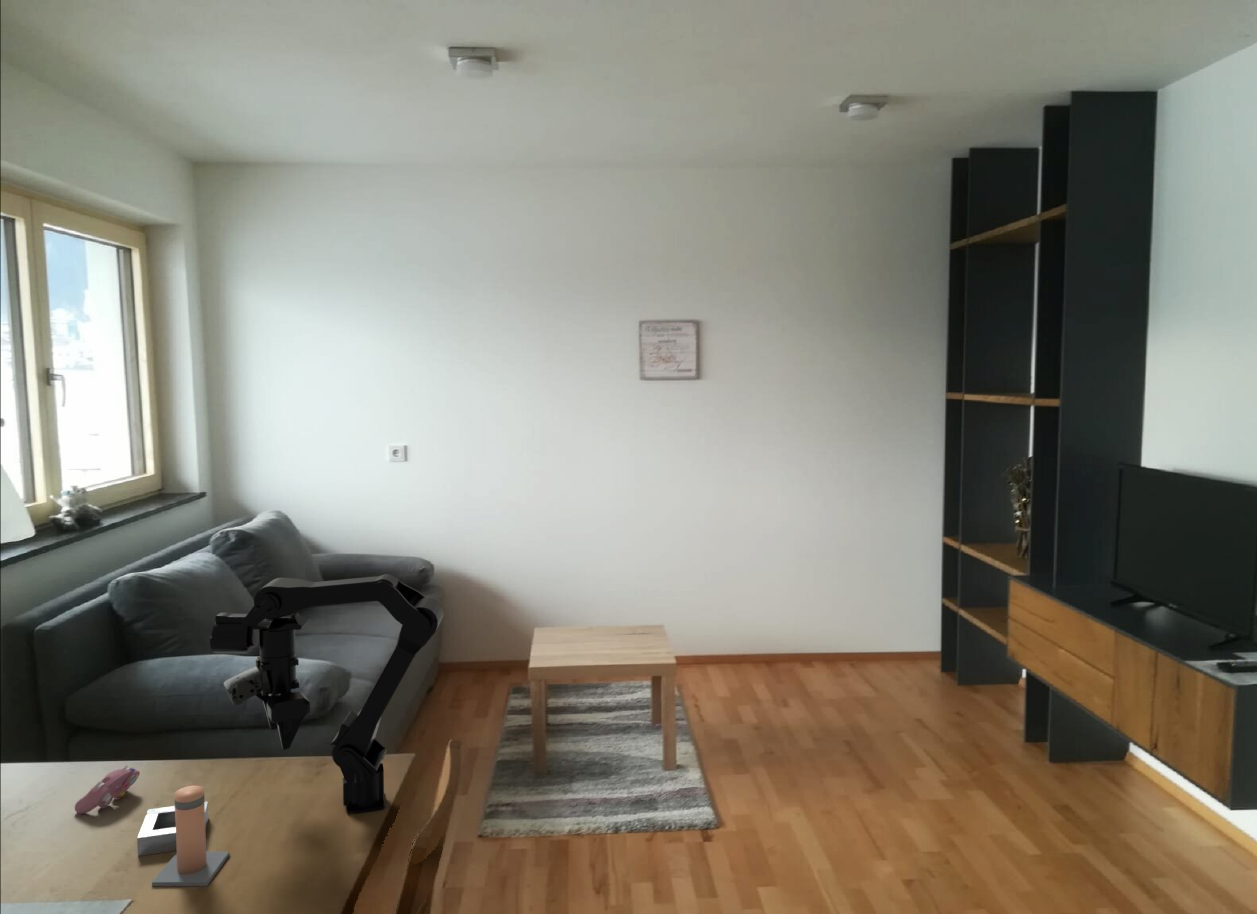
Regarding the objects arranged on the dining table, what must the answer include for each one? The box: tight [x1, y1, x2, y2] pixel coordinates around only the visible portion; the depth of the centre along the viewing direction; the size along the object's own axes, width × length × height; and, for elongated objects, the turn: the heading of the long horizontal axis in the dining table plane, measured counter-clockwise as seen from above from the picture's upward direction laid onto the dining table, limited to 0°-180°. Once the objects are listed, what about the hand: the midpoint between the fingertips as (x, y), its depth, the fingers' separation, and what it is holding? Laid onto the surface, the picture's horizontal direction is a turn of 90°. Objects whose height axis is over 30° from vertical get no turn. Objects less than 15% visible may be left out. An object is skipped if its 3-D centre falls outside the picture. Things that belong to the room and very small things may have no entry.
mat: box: [151, 851, 230, 887], centre depth 132 cm, size 8×8×1 cm
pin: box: [173, 785, 207, 874], centre depth 131 cm, size 4×4×12 cm
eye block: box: [136, 801, 209, 857], centre depth 141 cm, size 9×9×3 cm
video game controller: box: [74, 765, 141, 815], centre depth 151 cm, size 10×5×7 cm, turn 169°
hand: (279, 738), depth 151 cm, fingers open, 9 cm apart
